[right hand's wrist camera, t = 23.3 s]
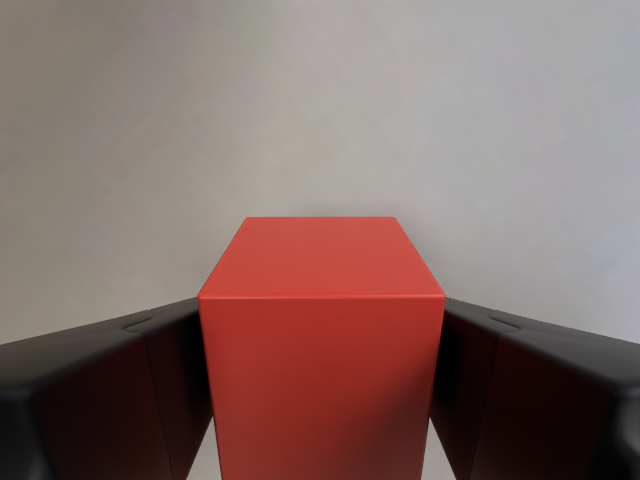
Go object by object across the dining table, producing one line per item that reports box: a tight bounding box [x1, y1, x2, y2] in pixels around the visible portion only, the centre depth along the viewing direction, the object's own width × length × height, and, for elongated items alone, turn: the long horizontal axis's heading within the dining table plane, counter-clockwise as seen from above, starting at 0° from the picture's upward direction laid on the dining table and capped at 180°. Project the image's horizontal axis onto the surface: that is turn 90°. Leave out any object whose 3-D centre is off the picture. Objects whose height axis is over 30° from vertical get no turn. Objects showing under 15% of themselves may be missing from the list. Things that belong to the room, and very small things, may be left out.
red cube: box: [197, 217, 446, 480], centre depth 10 cm, size 5×5×5 cm
